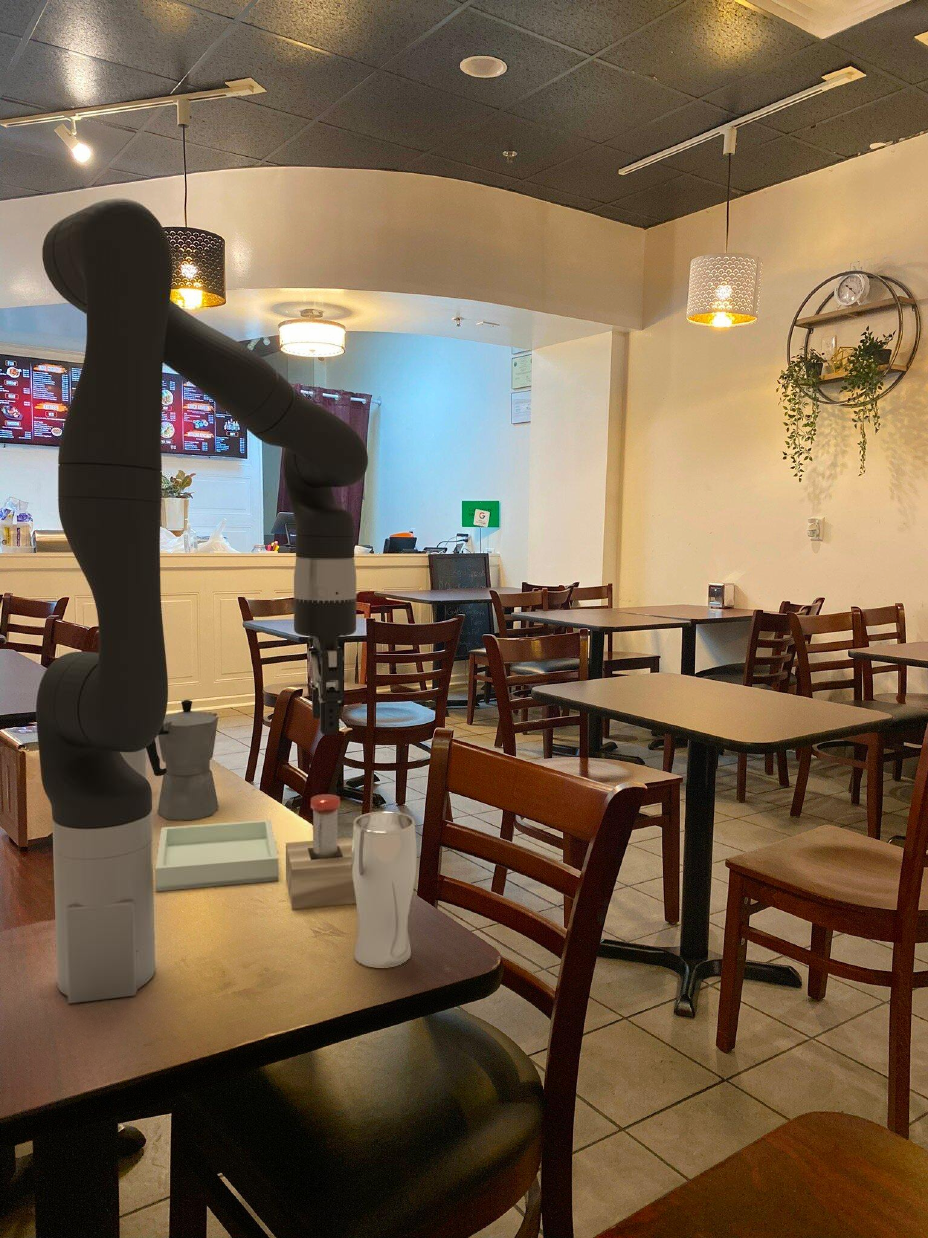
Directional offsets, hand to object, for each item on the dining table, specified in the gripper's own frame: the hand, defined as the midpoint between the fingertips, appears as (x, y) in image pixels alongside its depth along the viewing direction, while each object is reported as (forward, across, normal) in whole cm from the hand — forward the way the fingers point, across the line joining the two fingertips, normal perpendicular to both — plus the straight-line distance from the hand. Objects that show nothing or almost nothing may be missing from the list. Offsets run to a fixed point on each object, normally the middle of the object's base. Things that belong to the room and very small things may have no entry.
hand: (325, 725), depth 110 cm
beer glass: (+22, -18, -4) cm, 28 cm away
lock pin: (+21, 0, 0) cm, 21 cm away
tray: (+21, +12, +13) cm, 28 cm away
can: (+22, +45, +28) cm, 57 cm away
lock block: (+21, 0, 0) cm, 21 cm away
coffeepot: (+22, +34, +18) cm, 44 cm away
